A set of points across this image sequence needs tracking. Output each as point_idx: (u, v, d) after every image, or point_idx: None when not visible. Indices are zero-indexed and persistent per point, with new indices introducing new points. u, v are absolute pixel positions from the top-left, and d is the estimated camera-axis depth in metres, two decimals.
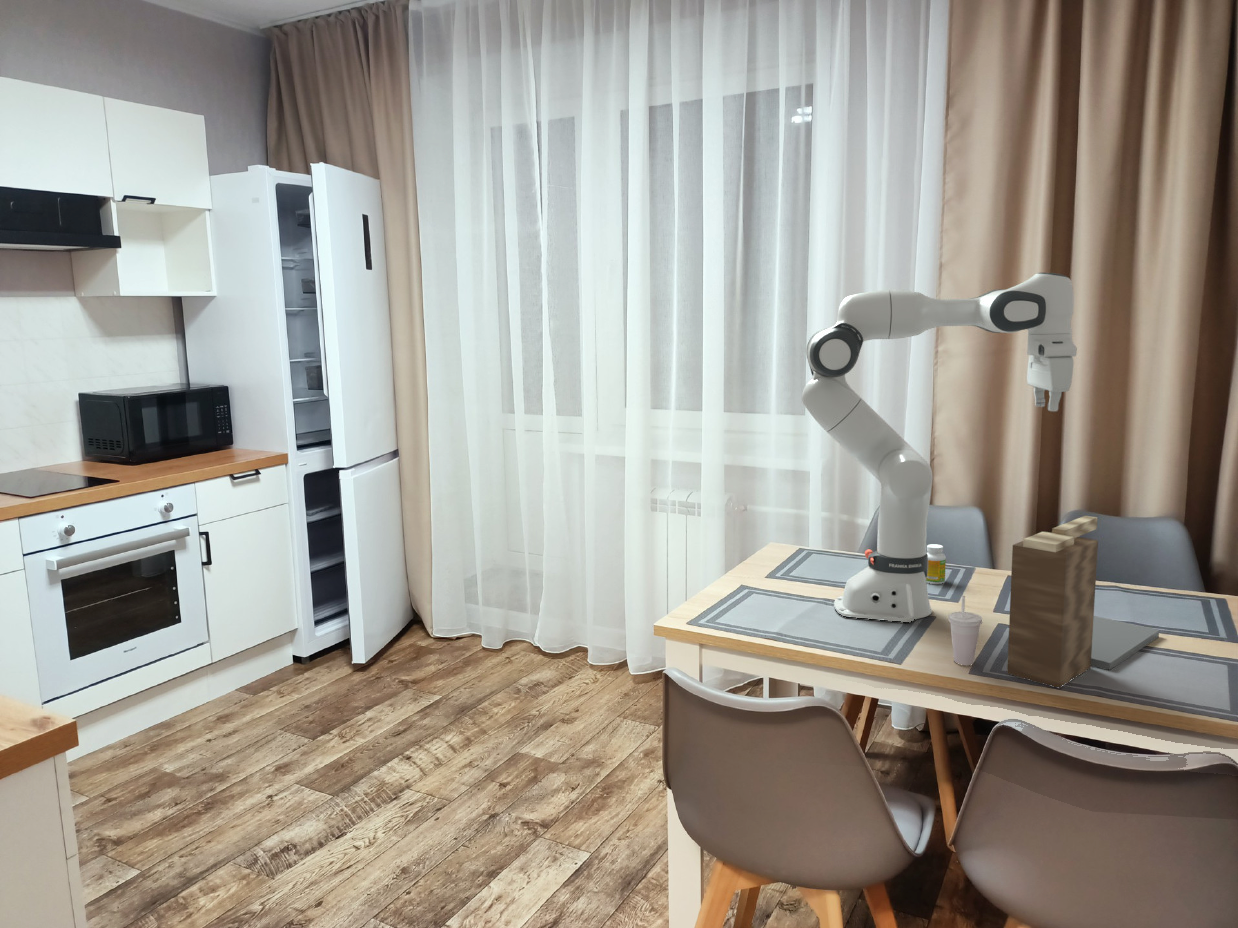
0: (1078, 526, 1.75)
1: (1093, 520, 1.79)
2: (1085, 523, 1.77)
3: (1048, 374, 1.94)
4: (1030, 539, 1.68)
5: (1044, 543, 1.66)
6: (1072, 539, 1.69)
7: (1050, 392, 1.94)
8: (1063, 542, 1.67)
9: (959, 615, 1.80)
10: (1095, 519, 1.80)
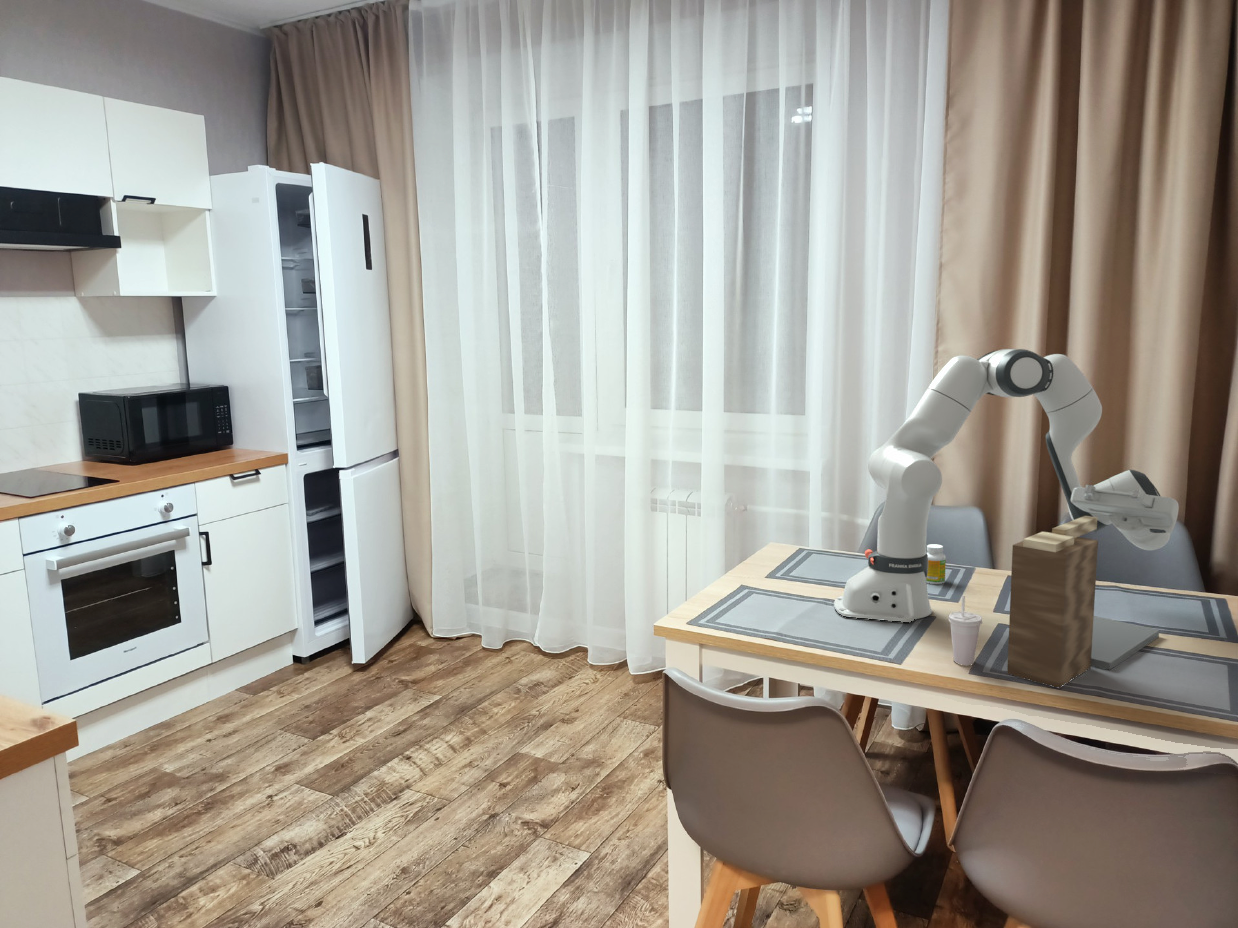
0: (1078, 526, 1.75)
1: (1093, 520, 1.79)
2: (1085, 523, 1.77)
3: None
4: (1030, 539, 1.68)
5: (1044, 543, 1.66)
6: (1072, 539, 1.69)
7: None
8: (1063, 542, 1.67)
9: (959, 615, 1.80)
10: (1095, 519, 1.80)
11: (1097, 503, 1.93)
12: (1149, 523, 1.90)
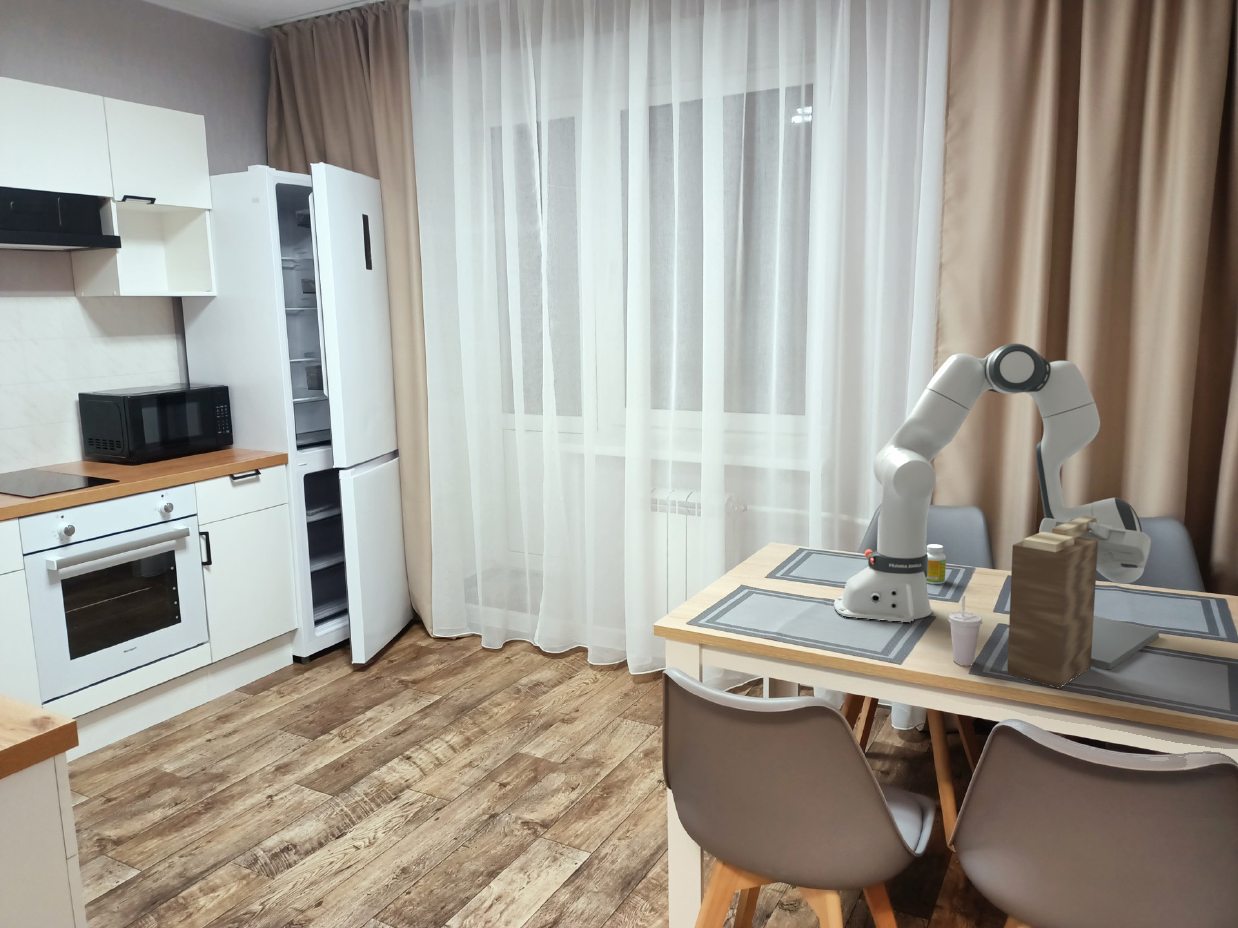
0: (1078, 526, 1.75)
1: (1093, 520, 1.79)
2: (1085, 523, 1.77)
3: None
4: (1030, 539, 1.68)
5: (1044, 543, 1.66)
6: (1072, 539, 1.69)
7: None
8: (1063, 542, 1.67)
9: (959, 615, 1.80)
10: (1094, 519, 1.80)
11: None
12: (1120, 557, 1.81)
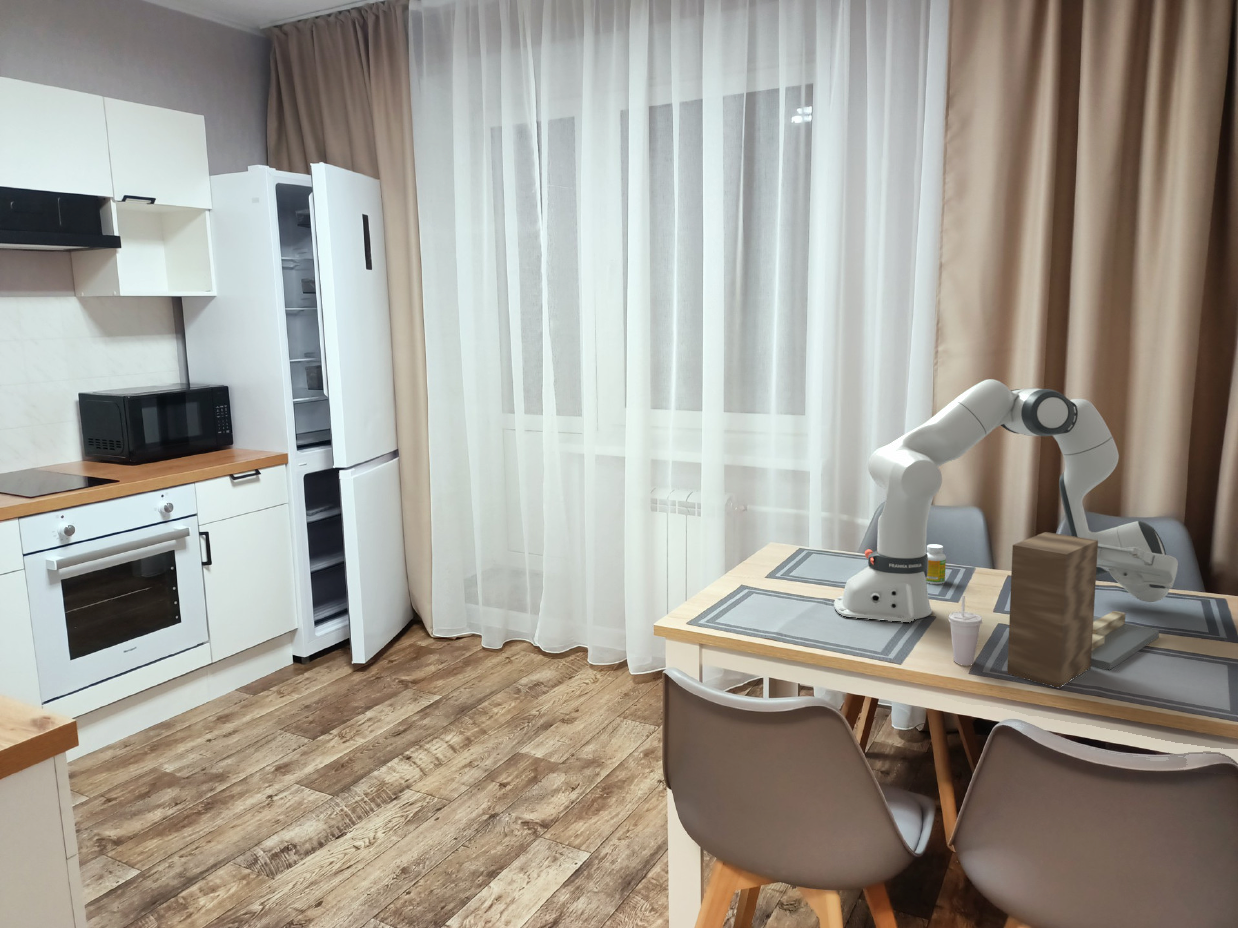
0: (1108, 624, 1.90)
1: (1121, 616, 1.94)
2: (1114, 620, 1.92)
3: None
4: None
5: None
6: (1102, 639, 1.84)
7: None
8: (1094, 643, 1.82)
9: (959, 615, 1.80)
10: (1123, 615, 1.95)
11: (1098, 558, 1.96)
12: (1149, 579, 1.93)
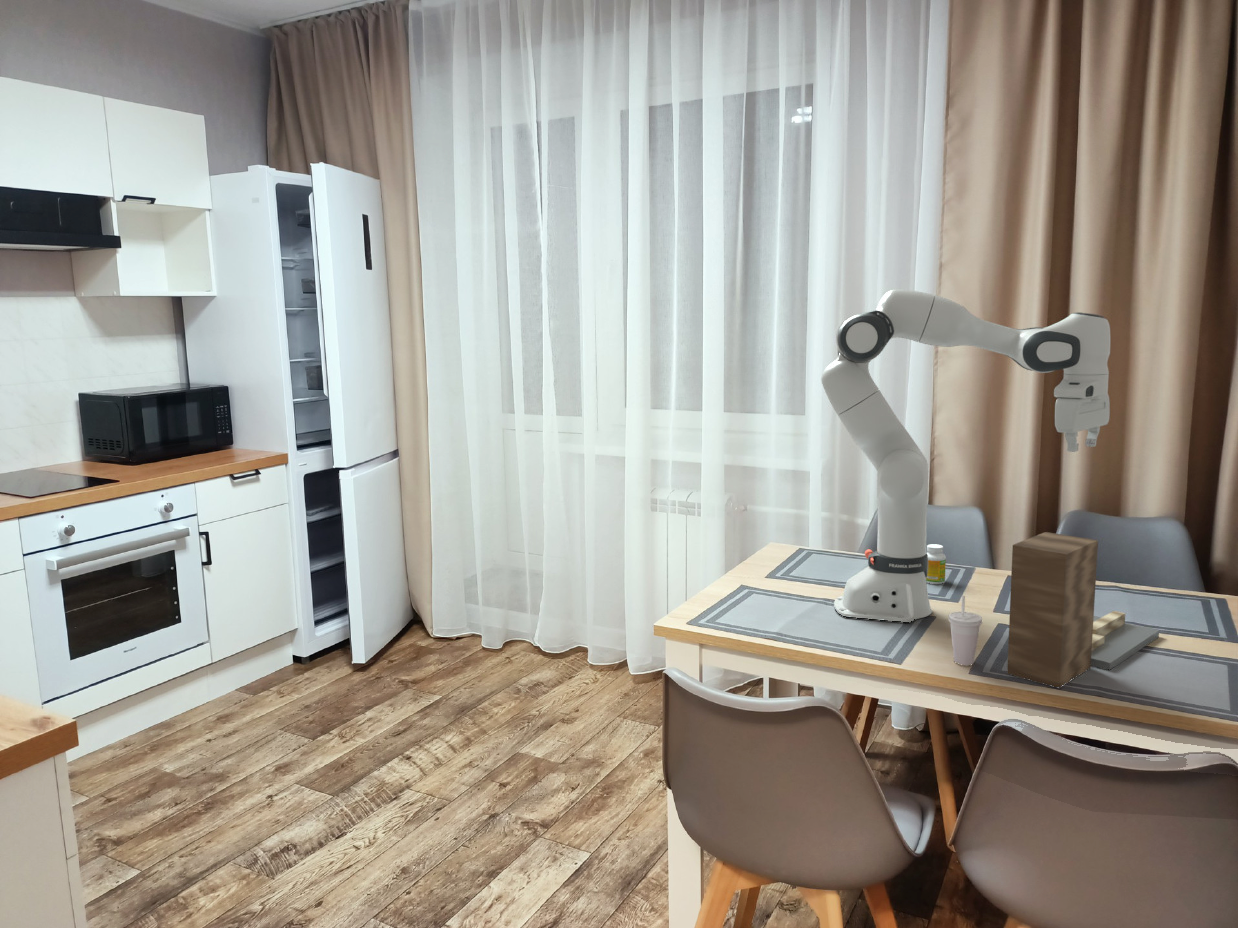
0: (1108, 624, 1.90)
1: (1121, 616, 1.94)
2: (1114, 620, 1.92)
3: None
4: None
5: None
6: (1102, 639, 1.84)
7: None
8: (1094, 643, 1.82)
9: (959, 615, 1.80)
10: (1123, 615, 1.95)
11: (1098, 426, 2.00)
12: (1087, 402, 1.92)
